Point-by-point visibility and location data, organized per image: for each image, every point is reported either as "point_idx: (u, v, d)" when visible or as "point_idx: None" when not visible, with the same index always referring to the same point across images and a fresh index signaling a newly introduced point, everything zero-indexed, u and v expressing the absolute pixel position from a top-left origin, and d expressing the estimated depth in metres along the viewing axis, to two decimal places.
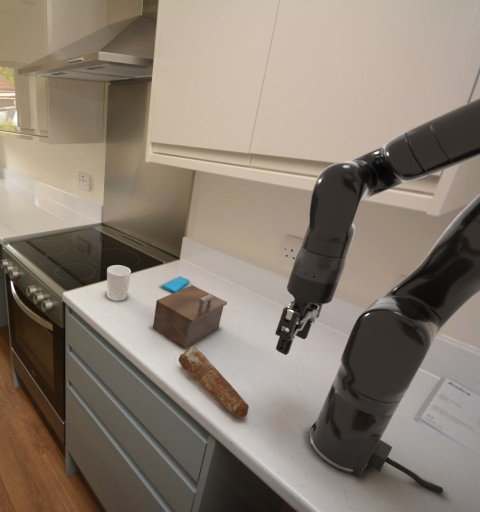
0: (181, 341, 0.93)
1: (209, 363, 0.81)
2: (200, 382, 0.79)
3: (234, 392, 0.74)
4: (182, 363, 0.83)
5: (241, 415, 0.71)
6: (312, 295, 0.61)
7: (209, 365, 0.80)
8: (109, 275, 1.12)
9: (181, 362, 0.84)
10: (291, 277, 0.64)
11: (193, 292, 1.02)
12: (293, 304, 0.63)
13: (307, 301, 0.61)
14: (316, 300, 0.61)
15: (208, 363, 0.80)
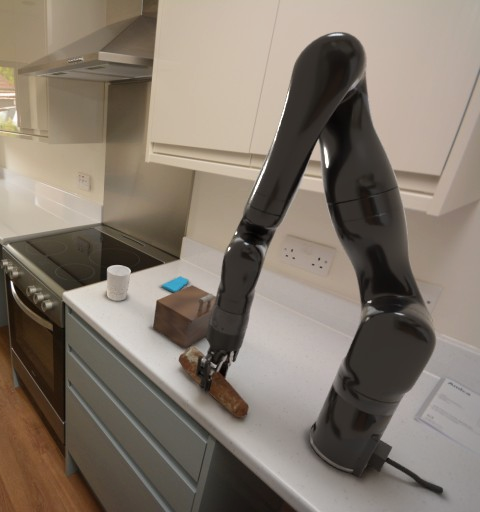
0: (181, 341, 0.93)
1: None
2: None
3: (234, 392, 0.74)
4: (182, 363, 0.83)
5: (241, 415, 0.71)
6: (222, 344, 0.71)
7: None
8: (109, 275, 1.12)
9: (181, 362, 0.84)
10: (208, 326, 0.74)
11: (193, 292, 1.02)
12: (209, 350, 0.73)
13: (219, 348, 0.71)
14: (225, 348, 0.71)
15: None
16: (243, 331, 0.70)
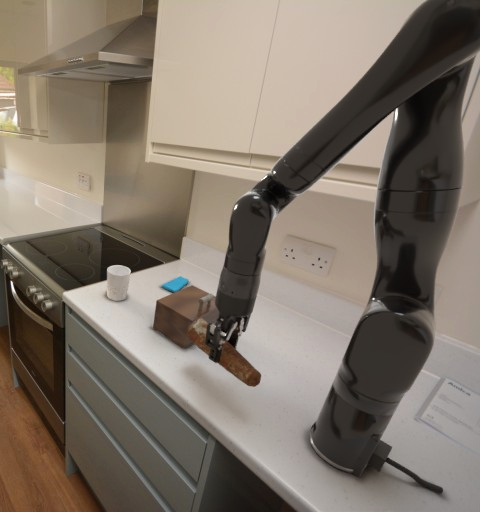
0: (181, 341, 0.93)
1: None
2: None
3: (245, 361, 0.70)
4: (190, 335, 0.80)
5: (254, 384, 0.68)
6: (232, 309, 0.67)
7: None
8: (109, 275, 1.12)
9: (188, 334, 0.80)
10: (217, 292, 0.70)
11: (193, 292, 1.02)
12: (218, 317, 0.70)
13: (228, 314, 0.68)
14: (236, 313, 0.67)
15: None
16: (254, 295, 0.66)
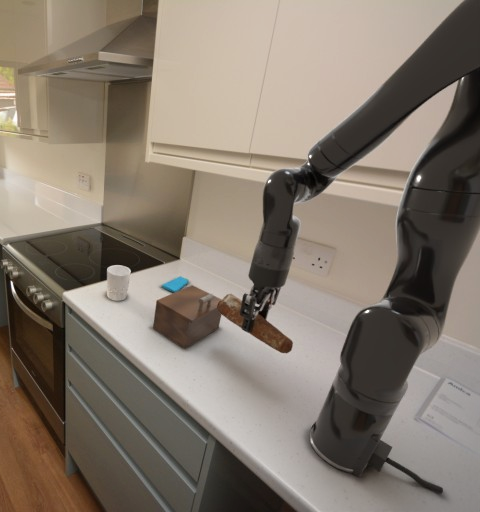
0: (181, 341, 0.93)
1: None
2: (241, 324, 0.80)
3: (277, 330, 0.75)
4: (221, 309, 0.84)
5: (286, 350, 0.72)
6: (267, 280, 0.72)
7: None
8: (109, 275, 1.12)
9: (220, 308, 0.85)
10: (251, 266, 0.75)
11: (193, 292, 1.02)
12: (252, 288, 0.74)
13: (263, 285, 0.73)
14: (270, 284, 0.72)
15: None
16: (288, 266, 0.71)
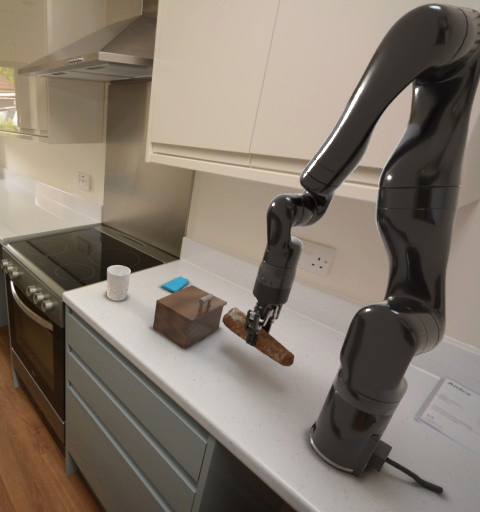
0: (181, 341, 0.93)
1: None
2: (245, 338, 0.84)
3: (280, 344, 0.80)
4: (226, 322, 0.89)
5: (288, 363, 0.77)
6: (270, 298, 0.76)
7: None
8: (109, 275, 1.12)
9: (225, 321, 0.89)
10: (255, 283, 0.79)
11: (193, 292, 1.02)
12: (256, 305, 0.79)
13: (267, 302, 0.77)
14: (273, 302, 0.76)
15: None
16: (290, 285, 0.75)
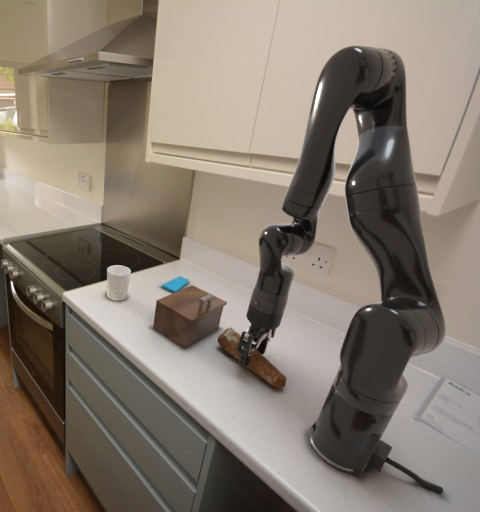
0: (181, 341, 0.93)
1: None
2: None
3: (273, 366, 0.82)
4: (221, 342, 0.91)
5: (280, 386, 0.79)
6: (263, 322, 0.79)
7: None
8: (109, 275, 1.12)
9: (220, 342, 0.92)
10: (249, 307, 0.82)
11: (193, 292, 1.02)
12: (250, 328, 0.81)
13: (260, 327, 0.80)
14: (266, 326, 0.79)
15: None
16: (282, 310, 0.78)
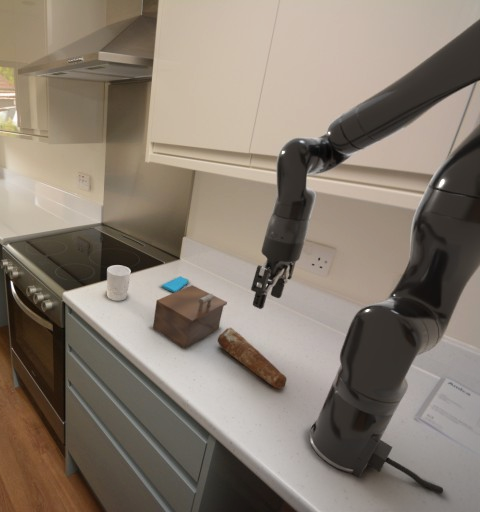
0: (181, 341, 0.93)
1: (247, 342, 0.89)
2: (240, 359, 0.87)
3: (272, 366, 0.82)
4: (221, 342, 0.91)
5: (280, 386, 0.79)
6: (281, 254, 0.71)
7: (247, 343, 0.88)
8: (109, 275, 1.12)
9: (220, 342, 0.92)
10: (264, 240, 0.74)
11: (193, 292, 1.02)
12: (266, 263, 0.73)
13: (277, 260, 0.71)
14: (285, 258, 0.71)
15: (246, 342, 0.89)
16: (303, 240, 0.70)
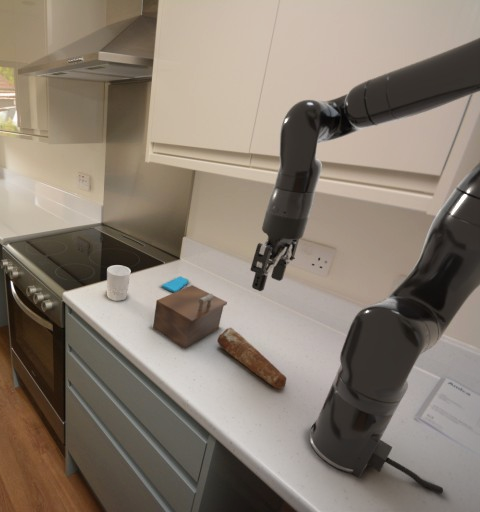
0: (181, 341, 0.93)
1: (247, 342, 0.89)
2: (240, 359, 0.87)
3: (272, 366, 0.82)
4: (221, 342, 0.91)
5: (280, 386, 0.79)
6: (283, 231, 0.65)
7: (247, 343, 0.88)
8: (109, 275, 1.12)
9: (220, 342, 0.92)
10: (265, 217, 0.68)
11: (193, 292, 1.02)
12: (267, 241, 0.68)
13: (279, 237, 0.66)
14: (287, 235, 0.65)
15: (246, 342, 0.89)
16: (307, 215, 0.64)
